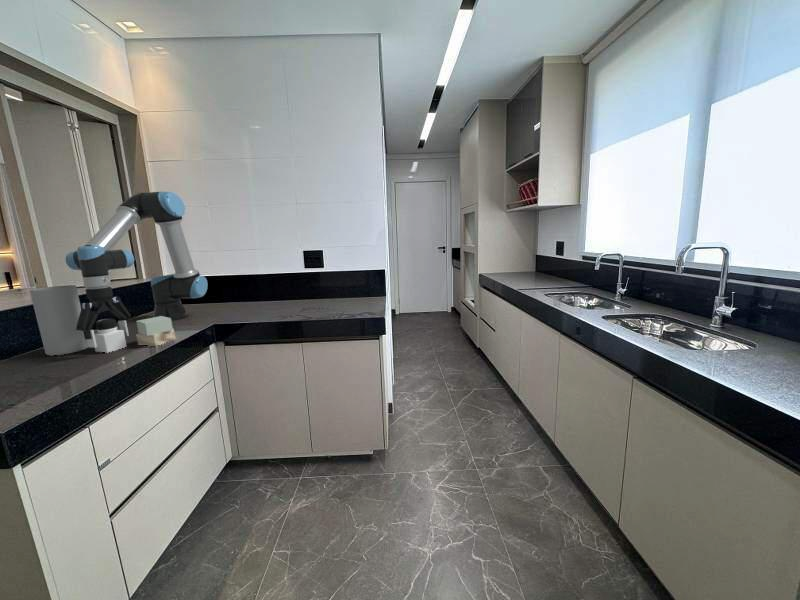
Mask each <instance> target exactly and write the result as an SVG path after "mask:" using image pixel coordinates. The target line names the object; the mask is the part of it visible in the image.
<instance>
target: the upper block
mask: <svg viewBox="0 0 800 600" xmlns="http://www.w3.org/2000/svg"><path fill="white" fill-rule="evenodd" d="M136 327H137V332H138V333H137V334H139V333H140V334H143V335H146V336H149V335H154V334H158V333H162V332H167V331H171V330H173V329H174V328H173V321H172V320H171V318H168V317H164V316H159V317H154V318H153V317H150V318H149V317H148V318H145V319H139V320H136Z"/></svg>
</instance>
